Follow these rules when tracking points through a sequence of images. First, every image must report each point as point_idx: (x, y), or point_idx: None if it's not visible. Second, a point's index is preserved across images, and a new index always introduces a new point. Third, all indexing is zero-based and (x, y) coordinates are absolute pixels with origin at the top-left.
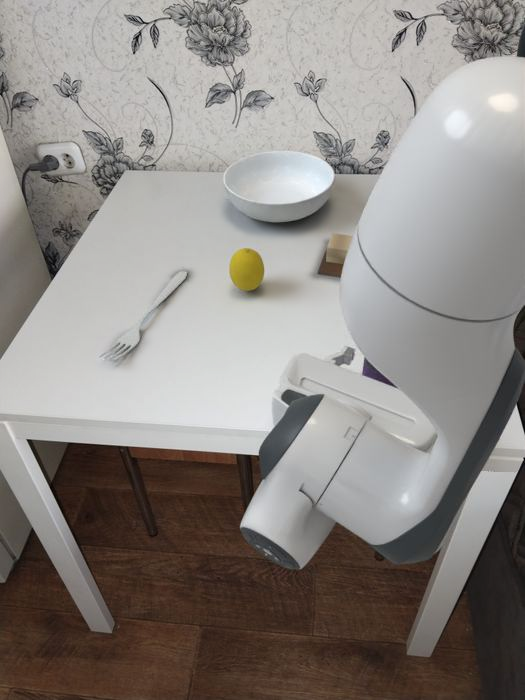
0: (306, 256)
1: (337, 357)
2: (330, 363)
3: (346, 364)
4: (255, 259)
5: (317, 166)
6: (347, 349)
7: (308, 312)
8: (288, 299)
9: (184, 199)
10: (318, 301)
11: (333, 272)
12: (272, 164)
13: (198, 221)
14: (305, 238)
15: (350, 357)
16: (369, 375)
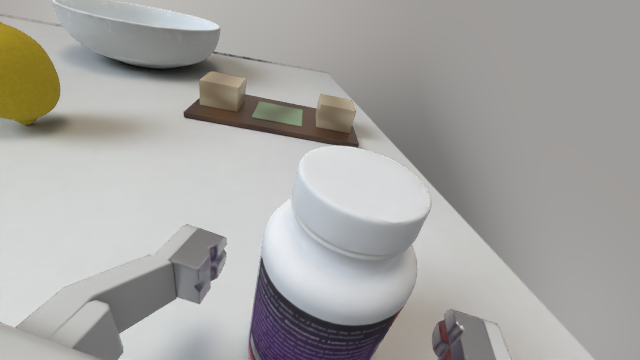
0: (172, 99)
1: (132, 283)
2: (33, 349)
3: (188, 300)
4: (13, 42)
5: (202, 28)
6: (191, 240)
7: (147, 163)
8: (112, 142)
9: None
10: (174, 148)
11: (208, 115)
12: (149, 22)
13: None
14: (176, 85)
15: (201, 274)
16: (281, 342)
